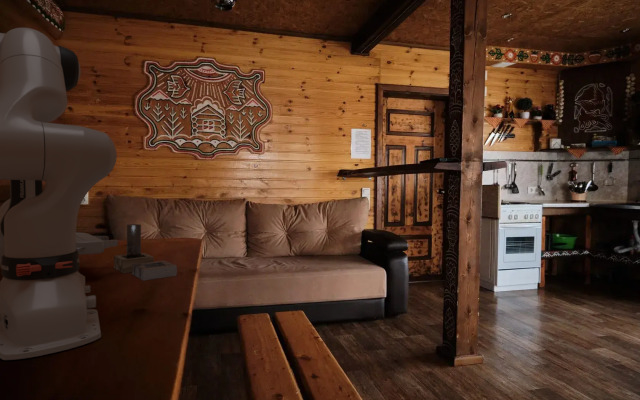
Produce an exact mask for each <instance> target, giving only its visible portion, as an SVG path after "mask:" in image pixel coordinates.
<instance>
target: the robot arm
mask: <svg viewBox="0 0 640 400" xmlns="http://www.w3.org/2000/svg"><path fill="white" fill-rule="evenodd" d="M81 71H82V69H81V64H80V61H79V58H78V55H77V54H76V53H75V52H74V51H73V50H71V49H69V48H67V47H64V46H62V45H55V44H54V43H53V42H52V41H51V39H50V38H49V37H48V36H47V35H46V34H44V33H43V32H41V31H39V30H37V29H33V28H30V27H15V28H13V29H10V30H8V31H7V32H4V33H3V32H0V181H2V180H3V181H5V180H6V181H7V180H8V181H9V187H10V188H9V190H10V191H9V193H10V198H8V199H6V200H5V201H4V202H3V203H2V204H1V206H0V270H1V276H2V279H1V280H0V359H1V360H3V361H13V360H14V361H15V360H22V359H29V358H34V357H40V356H44V355H45V356H46V355H49V354H54V353H58V352H62V351H67V350H71V349H73V348H78V347H80V346H84V345H86V344H90V343H92V342H95V341H97V340H99V339H101V337H102V332H101V325H100V319H99V313H98V310H97V309H93V308H96V307H97V296H96V295H95V294H93V295H88V296H87V295H86V294H87V293H91V291H92V290H91V285H86V276H85V275H83V274H82V273H80V271H79V270H80V255H82V256H84V255H95V254H102V253H104V252H105V249H109V248H111V247H112V248H113V247H118V246H119V241H118V240H117V239H110V237H109V236H107V235H92V234H90V233H87V232H77V225H78V224H77V223H78V215H79V210H80V207H81V206H82V205H81V204H82V203H83V200H84V199H85V196H86V195H87V194H88V193H89V191H90V190H91V189H92V188H93V187H94V186H95V185H96V184H97V183H99V182H100V181H101V180H103V179H105V178H106V177H107V176H108V175H110V174H111V173H112V171H113V170H114V168H115V166H116V163H117V149H116V145H115V143H114V141H113V140H112V138H111V137H110V136H109V135H108V134H107V133H106V132H103V131H100V130H97V129H94V128H89V127H85V126H81V125H72V124H66V123H65V124H63V123H53V122H54V121H56V120H57V119H58V118H60V117H61V116H62V115H63V114H64V113H65V111H66V109H67V108H68V107H67V106H68V96H67V95H68V94H67V92H69V91H71V90H73V89H74V88H76V87H77V85H78V84H79V81H80V79H81V74H82V73H81ZM43 182H45V185H44V189H43ZM109 239H110V240H109Z"/></svg>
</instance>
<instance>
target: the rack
mask: <svg viewBox="0 0 640 400" xmlns="http://www.w3.org/2000/svg"><path fill="white" fill-rule="evenodd" d="M147 262H155V261H154V256H152V255H150V254H148V253H145V252H141V257H139V258H130V259H127V253H126V254H118V255H114V256H113V269H114V270H116V271H118V272H120V273H122V274H128V273H130V274H131V273H132V264H139V263H147Z"/></svg>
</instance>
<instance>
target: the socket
mask: <svg viewBox="0 0 640 400" xmlns="http://www.w3.org/2000/svg"><path fill="white" fill-rule="evenodd" d="M131 275H133V276H135V277H136V278H137V279H140V280H141V281H142V282H143V281H148V280H157V279H163V278H170V277H176V276H178V265H176V264H173V263H171V262H169V261H167V260H164V259H163V260H157V261H154V262H147V263H139V264H132V272H131Z"/></svg>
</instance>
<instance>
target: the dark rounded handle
mask: <svg viewBox="0 0 640 400" xmlns="http://www.w3.org/2000/svg"><path fill="white" fill-rule="evenodd" d="M141 243H142V224H141V223H132V224H131V223H129V224H126V254H127V259H130V258H139V257H141V253H142V244H141Z"/></svg>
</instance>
